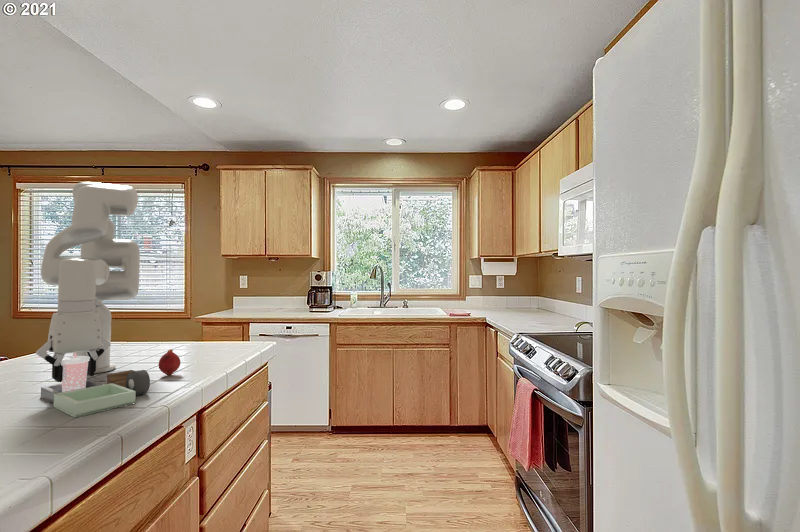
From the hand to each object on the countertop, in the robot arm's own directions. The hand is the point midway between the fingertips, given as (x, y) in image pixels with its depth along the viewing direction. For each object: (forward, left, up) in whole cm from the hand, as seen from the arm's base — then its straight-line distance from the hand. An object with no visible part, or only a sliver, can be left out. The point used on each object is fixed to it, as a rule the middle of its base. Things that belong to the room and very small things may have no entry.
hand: (74, 377), depth 105 cm
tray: (+13, 0, -4) cm, 14 cm away
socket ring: (+1, 0, -4) cm, 5 cm away
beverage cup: (0, 0, -4) cm, 4 cm away
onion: (-1, +25, -5) cm, 25 cm away
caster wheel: (+12, +10, -4) cm, 16 cm away
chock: (+4, +10, -5) cm, 12 cm away
